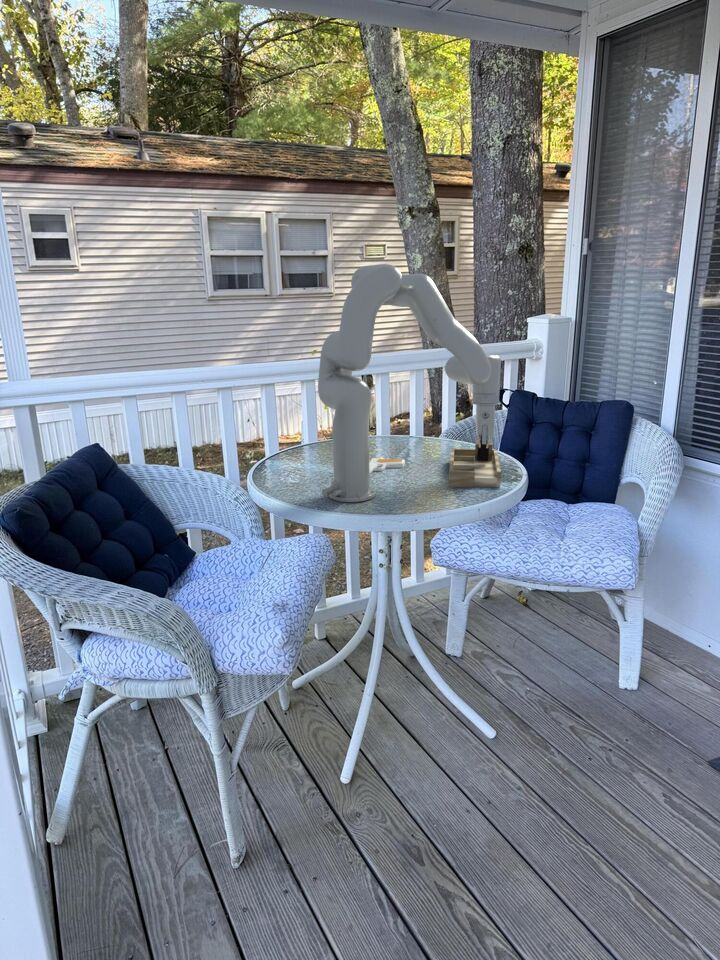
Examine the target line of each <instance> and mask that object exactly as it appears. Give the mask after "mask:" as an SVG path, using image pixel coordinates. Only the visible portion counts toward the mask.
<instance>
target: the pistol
mask: <svg viewBox="0 0 720 960" xmlns="http://www.w3.org/2000/svg"><path fill="white" fill-rule="evenodd" d="M405 466H406V461H405V459H402V458H393V459H391V458H389V459H388V458H387V459H386V458H384V456H380V457H373V458H372V459H371V460H370V459H369V468H370V475H371V474H372V473H374V472H383V471H384V470H385V469H400V468H401V469H403V468H404V467H405Z"/></svg>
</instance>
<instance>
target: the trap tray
mask: <svg viewBox="0 0 720 960" xmlns="http://www.w3.org/2000/svg"><path fill="white" fill-rule="evenodd" d="M474 455H475V448H451V449H450V459H449V470H448V488H449V487H450V488H453V487H454V488H455V487H456V488H475V487H489V488H490V487H491V488H501V476H502V470H501V464H500V459H499V453H498V449H494V448H492V456H494V461H474Z"/></svg>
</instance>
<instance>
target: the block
mask: <svg viewBox="0 0 720 960" xmlns="http://www.w3.org/2000/svg"><path fill="white" fill-rule="evenodd" d="M478 445H479V439H477V440H475V448H474V449H475V460H477V450H478V447H479V446H478ZM488 447H489V456H488V461H492V449H494V448H493V447H494V445H493V440H489V443H488Z"/></svg>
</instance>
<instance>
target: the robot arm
mask: <svg viewBox="0 0 720 960" xmlns="http://www.w3.org/2000/svg"><path fill="white" fill-rule="evenodd" d="M350 282H351V283H350V285H351V286H350V287H351V289H350V290H349V292H348V294H347V296H346V297H345V300H344V303H343V307H342V310H341V317H340V318H341V319H340V324H339V330H338V331H337V330H336V331H335V332H332V333H330V334H329V335H328V336H327V337H326V339H325V340H324V342H323V344H322V346H321V351H320V358H319V368H318V379H317V380H318V382H317V383H318V384H317V393H318V397H319V399H320V401H321V403H322V404H323V405H324V406H326V407H327V408H328V409H329V408H330V409H332V410H334V415H333V421H332V426H331V430H332V431H331V435H332V436H331V437H332V438H331V439H332V457H333V459H332V460H333V462H332V465H333V480H332V481H331V484H330V485H329V487H325V488H322V490H321V495H322V496H324V497H327V496H328V497H329V498H330V499H331V500H334V501H336V502H340V503H341V502H342V503H359V502H360V503H361V502H365V501H369V500H372V499H373V498H375V496H376V494H377V492H376V489H375V488H374V487H372V486H371V483H370V479H371V478H370V475H371V474H370V468H369V461H370V416H371V415H370V414H371V409H372V404H373V403H372V402H373V401H372V400H373V399H372V398H373V396H372V391H371V389H370V387H369V385H368V384H367V382H365V381H364V380H362V379H361V378H358V377H356V376H353V372H360V371H362V370H364V369H366V368H367V367H368V365H369V364H370V362H371V358H372V350H373V343H374V332H375V325H376V320H377V315H378V312H379V310H380V308H381V307H382V305H386V306H387V305H388V306H392V307H400V308H409V309H410V310H411V313H413V315H414V317H415V318H416V320H417V322H418V324H419V325H420V326H421V329H422V330H423V332H424V334H425V335H426V337H428V339H429V340H431V341H432V342H434V343H435V344H436V345H439V346H440V347H442V348H444V349H445V350H447V351H448V352H449V353H451V354H452V355H453V356H451V357H450V358H449V359H448V360H447V361H446V363H445V365H444V369H445V371H444V372H445V374H446V376H447V377H448V378H449V379H450V380H452V381H454V382H457V383H460V384H461V383H463V384H468V385H472V395H471V396H472V398H471V401H472V402H471V404H472V405H475V406H476V407H475V431H476V432H475V433H476V438H477V440H479V445H478V446H479V447H478V450H477V461H488V456H489V447H488V443H489V441H490V440H489V439H491V441H493V440H494V439H495V426H496V425H495V424H496V423H495V422H496V406H497V405H499V404H500V388H501V387H500V385H501V369H502V366H501V365H502V358H501V357H500V356H499V355H497V354H493V353H492V354H490V353H489V354H488V353H487V354H486V353H485V350H484V349H483V346H482V345H481V344H480V343H479V341H478V340H477V339H476V337H475V336H473V335H472V334H471V333H470V332H469V331H468V330H467V329H466V328H465V326H463V325H462V324H461V323H460V322H459V321H457V320H456V318H455V317H454V315H453V314H452V311H451V310H450V309H449V307H448V305H447V303H446V301H445V300H444V298H443V296H442V294H441V293H440V291H439V289H438V288H437V285H436V284H435V282H434V281H433V279H432V278H431V277H430V276H428V275H427V274H424V273H405V274H404V273H401V271H400V269H399V268H397V266H395V265H393V264H387V263H379V264H370V265H368V264H367V265H364V266H360V267H359V268H357V269H356V270H355V271H354V273H353V274H352V276H351V280H350Z"/></svg>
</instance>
